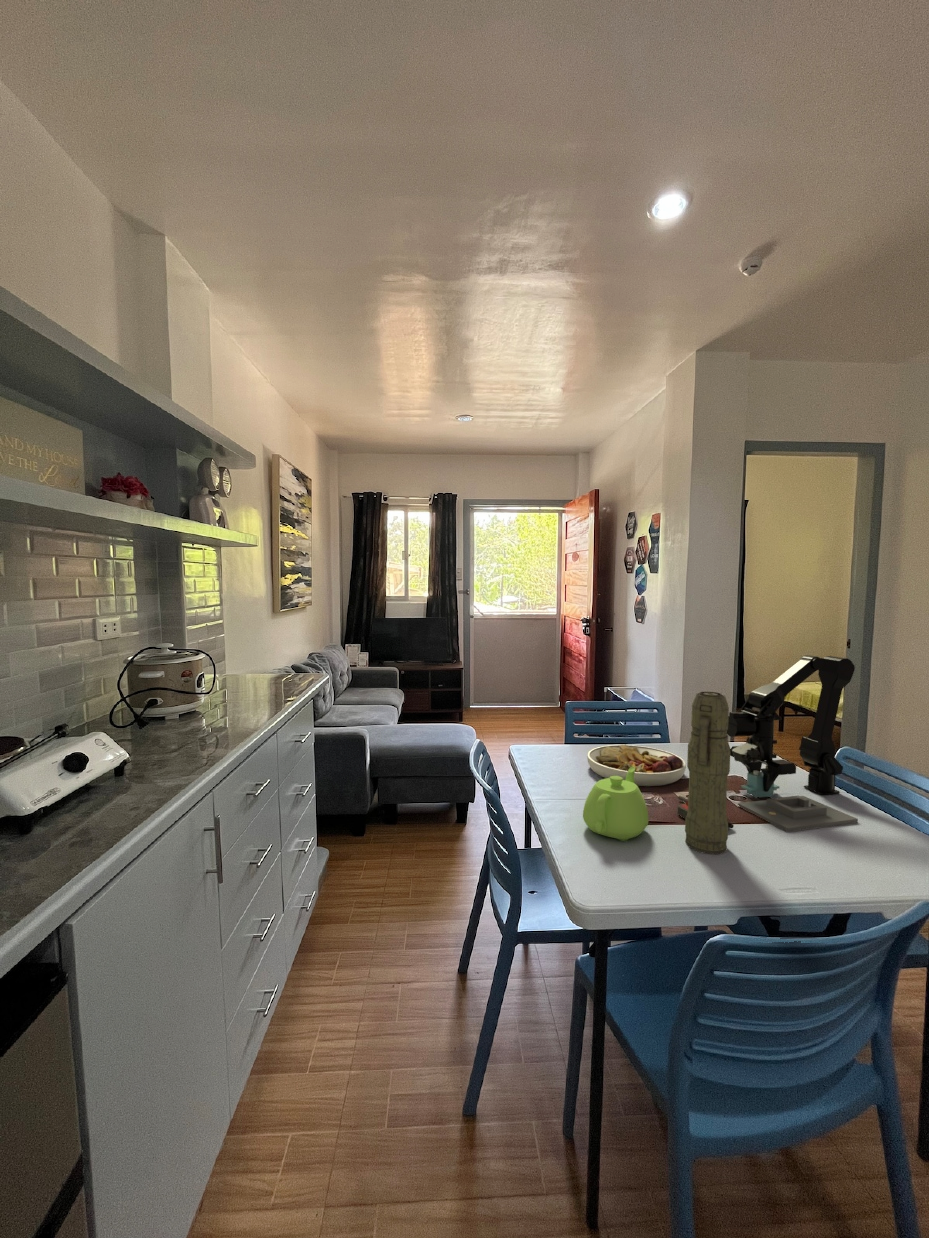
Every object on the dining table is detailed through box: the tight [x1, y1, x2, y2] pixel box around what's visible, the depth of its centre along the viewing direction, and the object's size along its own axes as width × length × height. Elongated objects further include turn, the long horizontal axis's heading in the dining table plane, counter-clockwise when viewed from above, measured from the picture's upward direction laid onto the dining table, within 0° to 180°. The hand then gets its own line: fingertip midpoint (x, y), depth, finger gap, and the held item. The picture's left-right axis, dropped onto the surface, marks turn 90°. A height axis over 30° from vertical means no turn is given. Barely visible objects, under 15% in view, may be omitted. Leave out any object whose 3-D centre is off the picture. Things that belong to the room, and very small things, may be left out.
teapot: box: [582, 767, 650, 842], centre depth 133 cm, size 22×15×13 cm
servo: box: [740, 770, 780, 798], centre depth 157 cm, size 10×4×7 cm, turn 105°
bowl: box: [586, 744, 687, 787], centre depth 176 cm, size 30×30×8 cm
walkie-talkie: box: [676, 795, 734, 829], centre depth 142 cm, size 9×4×20 cm
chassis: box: [737, 795, 859, 833], centre depth 143 cm, size 22×16×3 cm
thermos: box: [684, 691, 731, 855], centre depth 124 cm, size 9×12×35 cm
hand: (760, 788), depth 157 cm, fingers open, 4 cm apart
